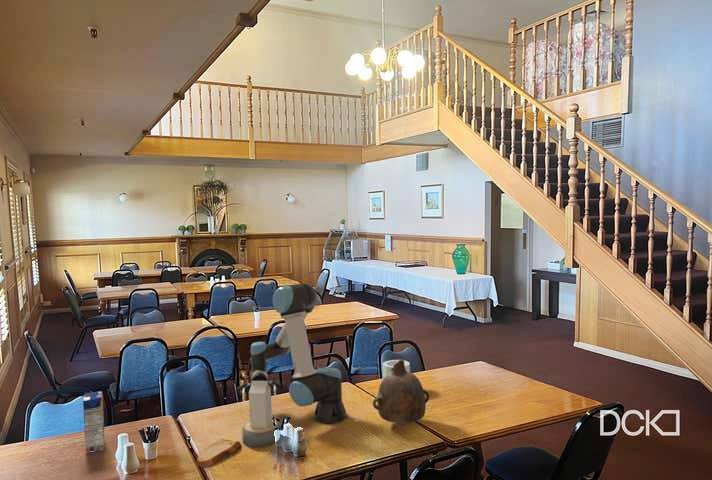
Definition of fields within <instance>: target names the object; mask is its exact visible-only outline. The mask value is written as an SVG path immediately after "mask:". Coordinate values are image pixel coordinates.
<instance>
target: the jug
mask: <svg viewBox="0 0 712 480" xmlns="http://www.w3.org/2000/svg"><path fill="white" fill-rule="evenodd" d="M398 360H399V361H398V362H397V363H395V364H394V367H393V368H392V369H391V373H389V374H387V375H386V376H385V377H384V379H383V378H382V380H381V382H380V385H379V386H378V387H379V388H378V394H377V396H376V397H375V398H374V399H373V400H372V406H373V408H374V409H375V410H377V412H378V414H379V416H380V418H381V419H382V420H385V421H386V422H389V423H394V424H398V425H399V426H405V425H407V424H411V423H414V422H418V421H420V420H422V419H424V417H425V413H426V405H427V403H428V401H429V400H430V395H429V392H428V391H427V390H426V389H424V387H423V385H422V383H421V381H420V379H419V378H418V377H417V376H416V375H415V374H414V373H412V372H411V371H410V372H409V371H406V369H405V365H404V361H405V360H404V359H398ZM425 395H426V397H425Z"/></svg>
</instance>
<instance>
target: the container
mask: <svg viewBox="0 0 712 480" xmlns="http://www.w3.org/2000/svg"><path fill="white" fill-rule="evenodd" d="M399 360H400V359H392V360H391V359H390V360H386V361H384V362H382V380H383V379H384V377H385V376H386V375H387V374H389V373H391V369H392V368H393V367H394V364H395V363H397V362H398V361H399ZM404 365H405V369H406V371H409V372H411V367H410V362H409V361H407V360H404Z"/></svg>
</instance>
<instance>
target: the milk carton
mask: <svg viewBox="0 0 712 480" xmlns="http://www.w3.org/2000/svg"><path fill="white" fill-rule="evenodd" d="M267 381H268V380H267ZM267 381H252V384H251V387H250V391H248V404H249V407H248V408H249V422H250V428H267V427H268V426H269V424H270V423H271V422H272V420H273V415H272V409H273V408H272V394H271V393H272V392H271V391H272V390H271V388H270V386H269V385H268V384H267Z"/></svg>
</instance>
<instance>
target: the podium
mask: <svg viewBox="0 0 712 480" xmlns="http://www.w3.org/2000/svg"><path fill="white" fill-rule="evenodd" d="M275 422H276V426H274V425H273V421H272V422H271V423H270V424H269V426H268V427H267V428H250V421H249V422H247V423H245V424H244V425H243V426H242V430H241V431H242V432H241V433H242V435H241V436H242V444H243V445H245V446H247V447H249V448H264V447H269V446H272V445H275V444H276V443H275V436H274V431H275V428H276V427H277V426H278V428H280V429H281V423H280V422H279V421H278V420H276V421H275Z"/></svg>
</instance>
